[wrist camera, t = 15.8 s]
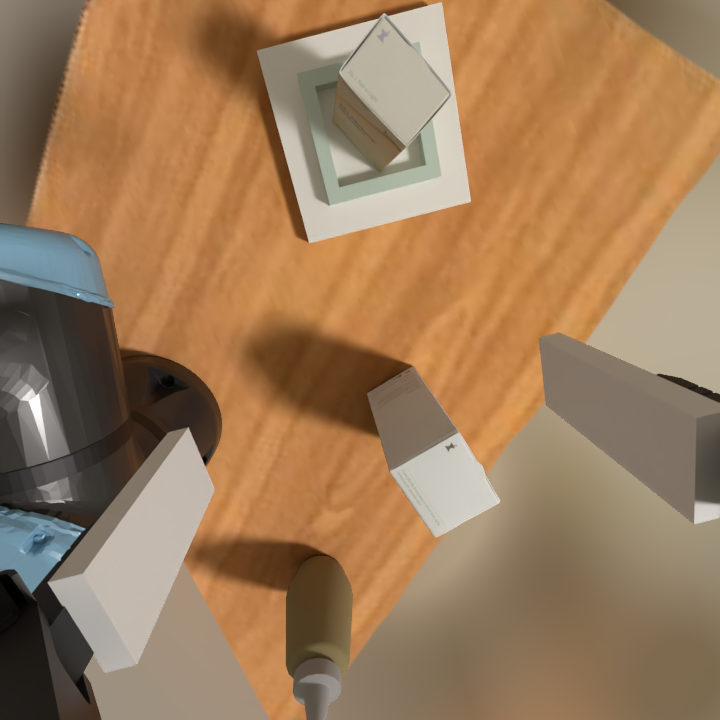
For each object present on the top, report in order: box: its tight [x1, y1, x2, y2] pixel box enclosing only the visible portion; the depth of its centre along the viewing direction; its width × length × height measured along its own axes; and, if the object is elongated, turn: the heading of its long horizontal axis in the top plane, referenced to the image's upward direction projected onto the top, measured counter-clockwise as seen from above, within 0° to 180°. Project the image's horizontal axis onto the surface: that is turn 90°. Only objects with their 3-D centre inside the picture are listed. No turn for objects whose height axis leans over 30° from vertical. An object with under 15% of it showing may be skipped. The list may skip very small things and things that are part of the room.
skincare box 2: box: [367, 366, 500, 537], centre depth 39 cm, size 8×7×16 cm
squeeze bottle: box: [286, 555, 353, 720], centre depth 44 cm, size 8×8×18 cm
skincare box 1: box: [332, 13, 452, 172], centre depth 31 cm, size 6×4×12 cm
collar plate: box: [257, 2, 471, 243], centre depth 36 cm, size 16×16×3 cm
